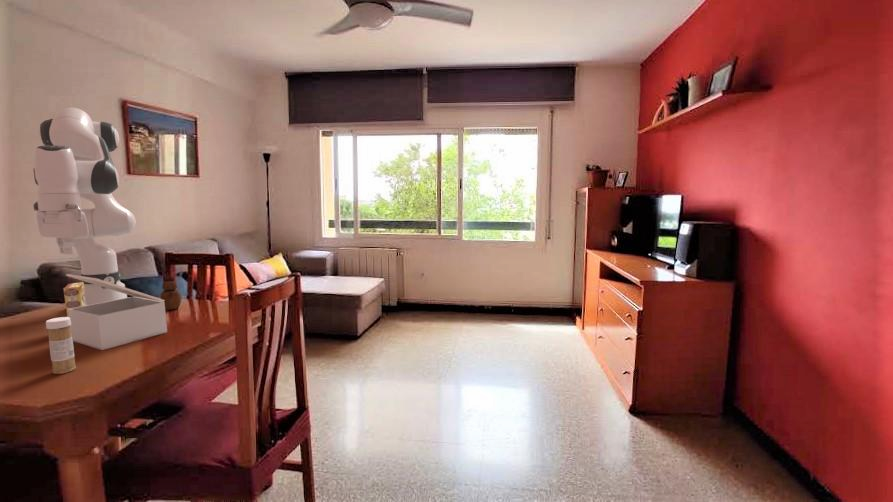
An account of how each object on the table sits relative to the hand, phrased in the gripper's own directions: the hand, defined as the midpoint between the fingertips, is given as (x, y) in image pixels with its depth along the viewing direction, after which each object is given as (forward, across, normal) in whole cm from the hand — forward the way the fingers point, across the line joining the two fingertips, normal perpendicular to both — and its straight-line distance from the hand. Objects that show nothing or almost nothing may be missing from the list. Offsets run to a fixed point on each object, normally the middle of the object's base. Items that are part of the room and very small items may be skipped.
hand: (66, 253), depth 123 cm
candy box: (+28, +19, -8) cm, 35 cm away
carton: (+27, 0, -11) cm, 29 cm away
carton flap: (+12, 0, -11) cm, 17 cm away
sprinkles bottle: (+28, -18, +10) cm, 34 cm away
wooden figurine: (+27, +20, -38) cm, 51 cm away
